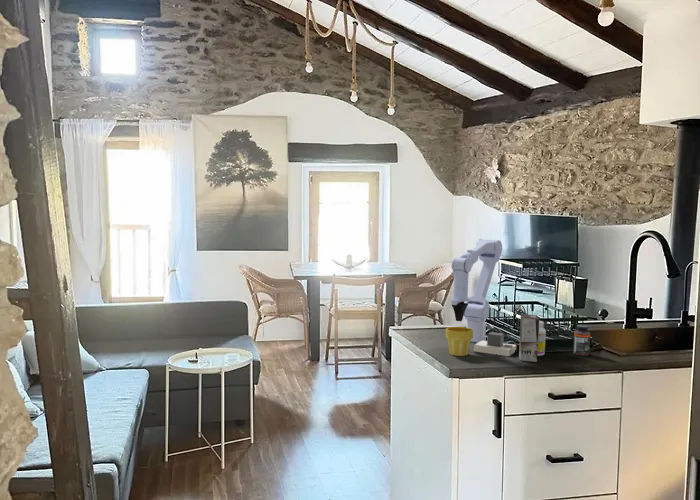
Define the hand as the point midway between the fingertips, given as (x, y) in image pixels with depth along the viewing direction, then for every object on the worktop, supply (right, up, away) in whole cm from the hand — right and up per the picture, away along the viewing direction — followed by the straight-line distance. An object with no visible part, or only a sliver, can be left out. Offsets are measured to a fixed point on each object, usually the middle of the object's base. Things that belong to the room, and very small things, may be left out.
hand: (458, 320), depth 268 cm
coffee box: (+23, -13, -16) cm, 31 cm away
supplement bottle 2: (+47, -13, -7) cm, 49 cm away
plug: (+13, -11, -6) cm, 18 cm away
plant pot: (-2, -12, -12) cm, 17 cm away
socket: (+13, -11, -6) cm, 18 cm away
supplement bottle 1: (+28, -12, -9) cm, 32 cm away
